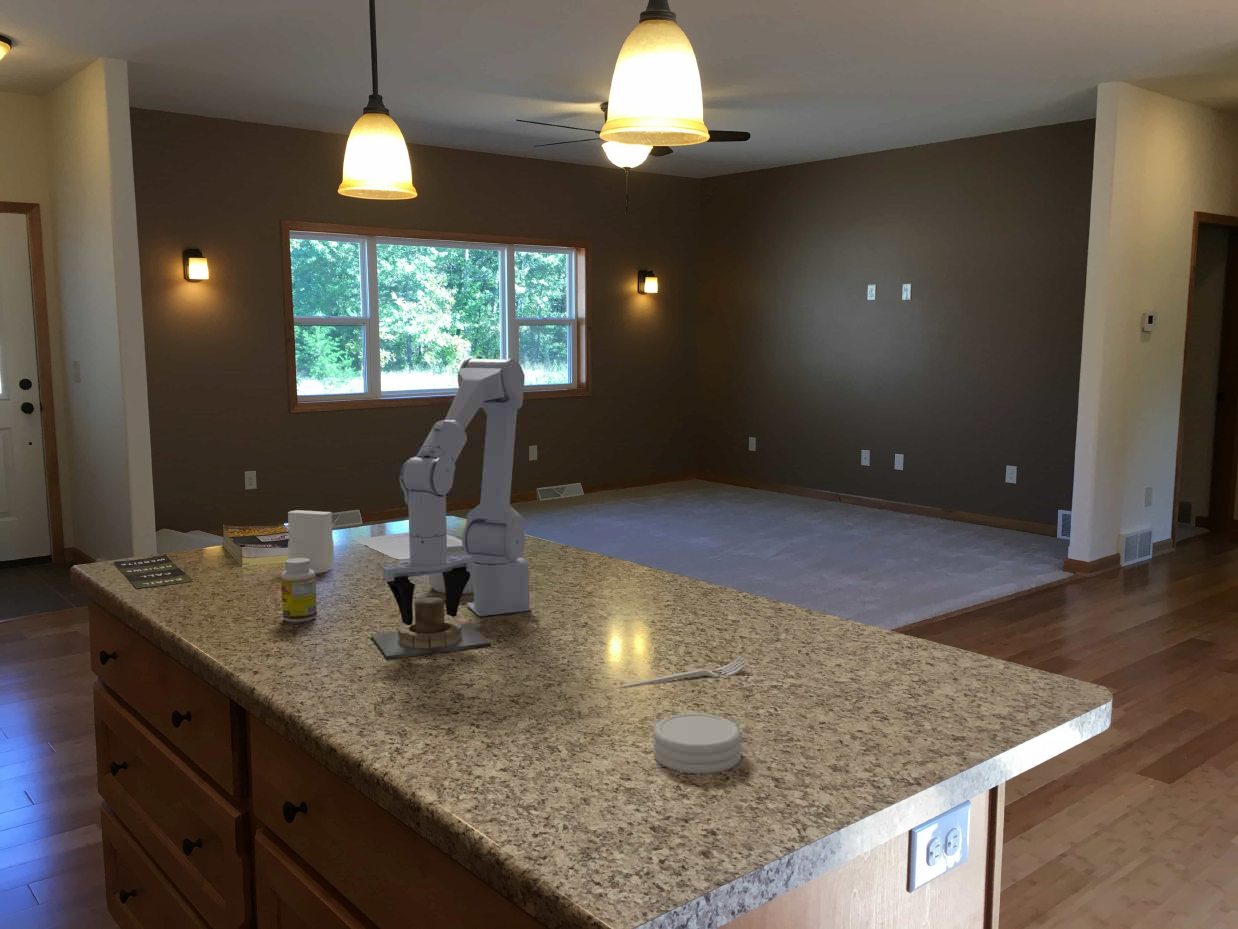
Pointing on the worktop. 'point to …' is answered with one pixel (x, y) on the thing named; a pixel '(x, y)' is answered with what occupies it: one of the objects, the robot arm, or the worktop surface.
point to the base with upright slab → (311, 538)
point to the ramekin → (437, 578)
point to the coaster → (697, 743)
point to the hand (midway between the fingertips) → (429, 619)
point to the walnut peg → (429, 615)
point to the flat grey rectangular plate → (429, 640)
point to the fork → (698, 673)
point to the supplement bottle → (298, 591)
